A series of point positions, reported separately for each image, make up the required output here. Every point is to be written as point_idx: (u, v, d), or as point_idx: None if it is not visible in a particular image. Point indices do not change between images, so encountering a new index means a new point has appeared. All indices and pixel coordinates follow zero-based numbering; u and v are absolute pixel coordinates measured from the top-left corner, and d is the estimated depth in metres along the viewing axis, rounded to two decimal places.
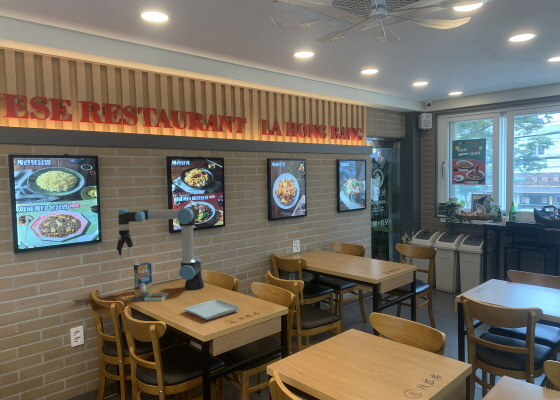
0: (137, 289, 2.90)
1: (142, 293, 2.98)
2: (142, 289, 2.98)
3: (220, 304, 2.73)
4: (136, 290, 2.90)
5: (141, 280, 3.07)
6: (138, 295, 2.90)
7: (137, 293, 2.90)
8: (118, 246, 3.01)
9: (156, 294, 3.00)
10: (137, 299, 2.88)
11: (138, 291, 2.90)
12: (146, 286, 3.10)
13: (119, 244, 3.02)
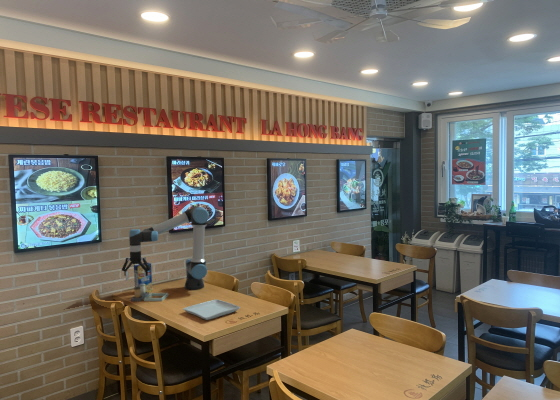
0: (137, 289, 2.90)
1: (142, 293, 2.98)
2: (142, 289, 2.98)
3: (220, 304, 2.73)
4: (136, 290, 2.90)
5: (141, 280, 3.07)
6: (138, 295, 2.90)
7: (137, 293, 2.90)
8: None
9: (156, 294, 3.00)
10: (137, 299, 2.88)
11: (138, 291, 2.90)
12: (146, 286, 3.10)
13: None
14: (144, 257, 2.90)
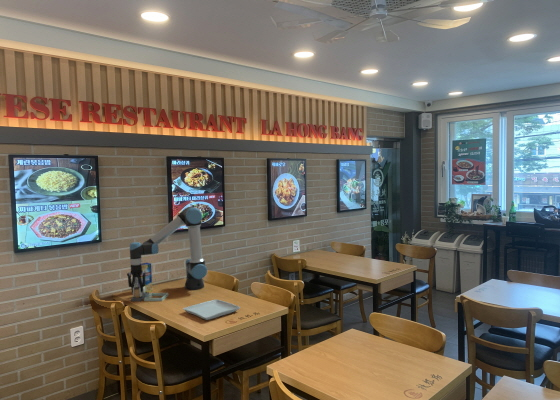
0: (137, 289, 2.90)
1: (142, 293, 2.98)
2: None
3: (220, 304, 2.73)
4: (136, 290, 2.90)
5: None
6: (138, 295, 2.90)
7: (137, 293, 2.90)
8: None
9: (156, 294, 3.00)
10: (137, 299, 2.88)
11: (138, 291, 2.90)
12: (146, 286, 3.10)
13: None
14: (145, 272, 2.91)
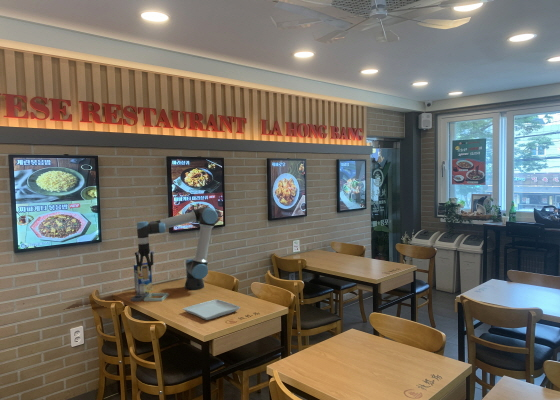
0: (145, 268, 2.90)
1: (142, 293, 2.98)
2: (142, 289, 2.98)
3: (220, 304, 2.73)
4: (144, 269, 2.90)
5: (141, 280, 3.07)
6: (146, 274, 2.91)
7: (145, 272, 2.90)
8: None
9: (156, 294, 3.00)
10: (137, 299, 2.88)
11: (146, 270, 2.91)
12: (146, 286, 3.10)
13: None
14: None
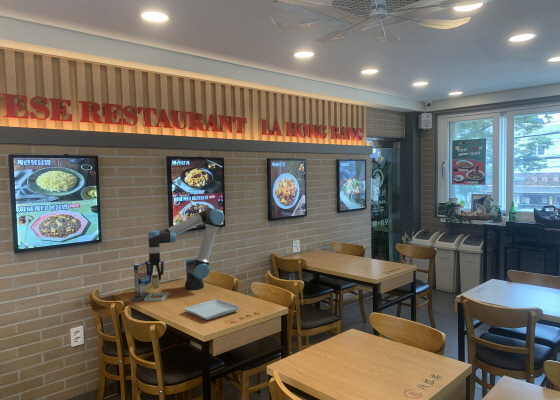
0: (155, 277, 2.92)
1: (142, 293, 2.98)
2: (142, 289, 2.98)
3: (220, 304, 2.73)
4: (154, 278, 2.91)
5: (141, 280, 3.07)
6: (156, 283, 2.92)
7: (155, 281, 2.92)
8: None
9: (156, 294, 3.00)
10: (137, 299, 2.88)
11: (156, 279, 2.92)
12: (146, 286, 3.10)
13: None
14: (163, 261, 2.93)
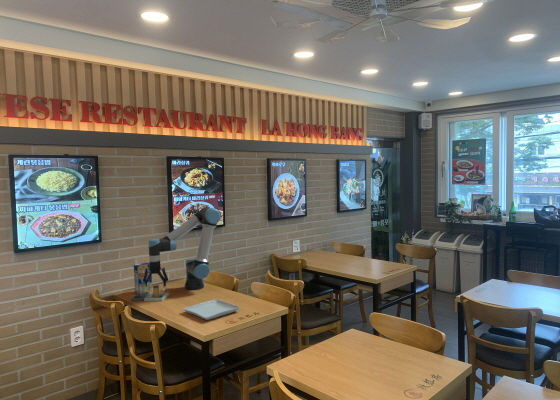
0: (156, 287, 2.92)
1: (142, 293, 2.98)
2: (142, 289, 2.98)
3: (220, 304, 2.73)
4: (155, 288, 2.92)
5: (141, 280, 3.07)
6: (157, 293, 2.93)
7: (156, 291, 2.92)
8: None
9: None
10: (137, 299, 2.88)
11: (157, 289, 2.93)
12: None
13: None
14: None
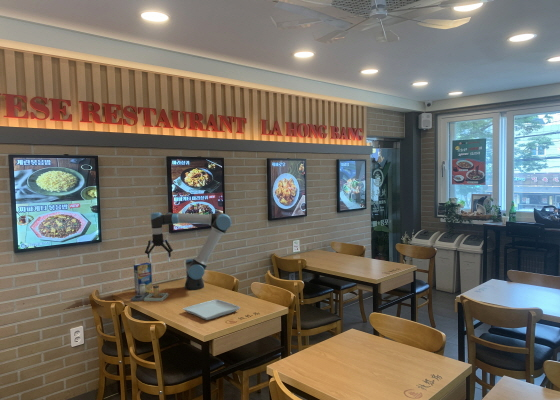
0: (156, 288, 2.92)
1: (142, 293, 2.98)
2: (142, 289, 2.98)
3: (220, 304, 2.73)
4: (155, 289, 2.92)
5: (141, 280, 3.07)
6: (157, 294, 2.93)
7: (156, 292, 2.92)
8: None
9: None
10: (137, 299, 2.88)
11: (157, 290, 2.93)
12: (146, 286, 3.10)
13: None
14: (166, 239, 3.00)
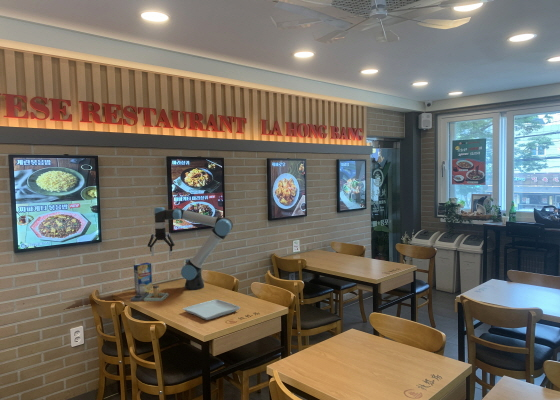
0: (156, 288, 2.92)
1: (142, 293, 2.98)
2: (142, 289, 2.98)
3: (220, 304, 2.73)
4: (155, 289, 2.92)
5: (141, 280, 3.07)
6: (157, 294, 2.92)
7: (156, 292, 2.92)
8: None
9: None
10: (137, 299, 2.88)
11: (157, 290, 2.92)
12: (146, 286, 3.10)
13: None
14: None
